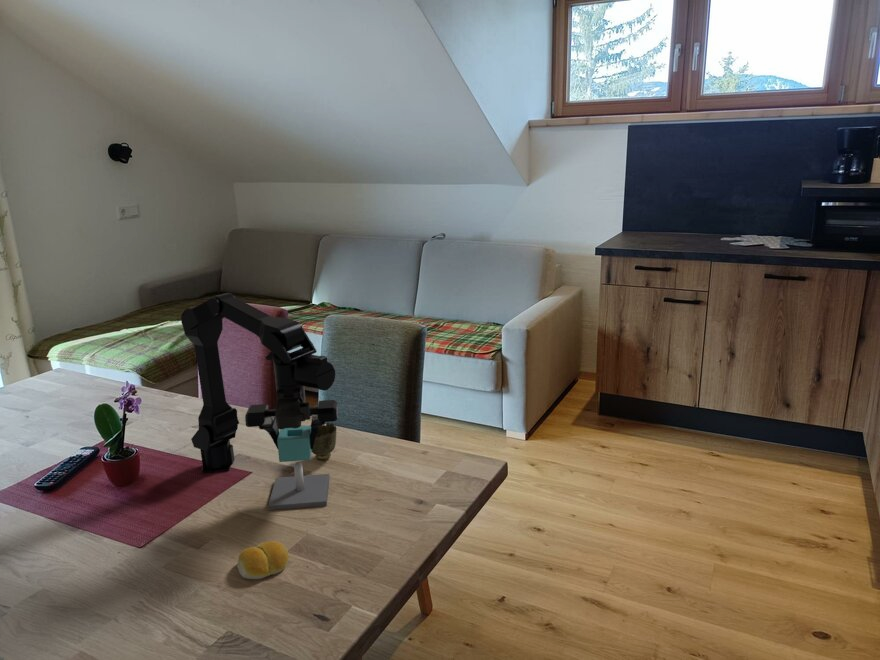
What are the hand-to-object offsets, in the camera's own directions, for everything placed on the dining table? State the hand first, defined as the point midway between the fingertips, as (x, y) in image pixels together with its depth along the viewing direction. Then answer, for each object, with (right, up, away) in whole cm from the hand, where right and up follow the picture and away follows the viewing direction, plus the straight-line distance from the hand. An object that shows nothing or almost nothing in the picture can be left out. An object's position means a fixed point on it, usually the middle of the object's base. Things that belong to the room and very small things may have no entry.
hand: (296, 449), depth 140 cm
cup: (+3, -6, +19) cm, 20 cm away
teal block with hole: (0, -1, 0) cm, 1 cm away
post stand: (0, -10, +3) cm, 11 cm away
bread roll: (-1, -18, -21) cm, 28 cm away
